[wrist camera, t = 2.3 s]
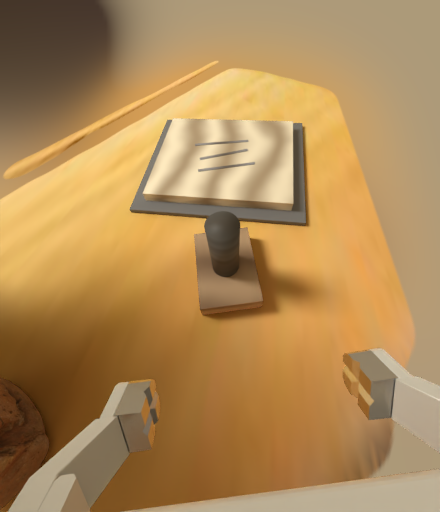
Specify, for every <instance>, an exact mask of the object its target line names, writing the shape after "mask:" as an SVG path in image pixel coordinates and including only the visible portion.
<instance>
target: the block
mask: <svg viewBox="0 0 440 512" xmlns="http://www.w3.org/2000/svg"><path fill="white" fill-rule="evenodd" d="M48 449H49V439H48V437H47V436H46V434H45V428H44V425H43V421H42V417H41V415H40V413H39V411H38V410H37V408H36V407H35V405H34V404H33V402H32V401H31V400H30V398H29V397H28V396H27V395H26V394H25V393H24V392H23V391H22V390H21V389H20V388H19V387H18V386H16V385H14V384H13V383H12V382H10V381H8V380H6V379H3V378H0V509H1V508H3V507H4V506H5V505H6V504H7V503H8V502H9V501H10V500H11V499H12V498H13V497H15V496H16V495H17V494H18V493H19V492H20V491H21V490H22V488H23V487H24V485H25V484H26V482H27V481H28V479H29V478H30V477H31V476H32V475H33V474H34V473H35V472H37V471H38V469H39V467H40V465H41V463H42V461H43V460H44V458H45V457H46V455H47V452H48Z"/></svg>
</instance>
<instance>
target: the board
mask: <svg viewBox="0 0 440 512" xmlns="http://www.w3.org/2000/svg"><path fill="white" fill-rule="evenodd" d="M143 195H144V197H145V199H146V200H147V201H161V202H175V203H189V204H203V205H217V206H231V207H245V208H259V209H273V210H286V211H291V210H292V206H293V121H253V120H213V119H173V120H172V122H171V125H170V127H169V130H168V132H167V135H166V137H165V139H164V142H163V144H162V147H161V149H160V152H159V154H158V157H157V159H156V162H155V164H154V167H153V169H152V171H151V174H150V176H149V179H148V181H147V184H146V186H145V189H144V191H143Z"/></svg>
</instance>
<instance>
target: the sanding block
mask: <svg viewBox="0 0 440 512" xmlns="http://www.w3.org/2000/svg"><path fill="white" fill-rule="evenodd" d="M204 227H205V232H206V233H202V234H194V238H195V251H196V264H197V277H198V290H199V303H200V310H201V312H202V314H203V315H206V314H213V313H221V312H228V311H236V310H243V309H250V308H258V307H261V306H262V303H263V297H262V293H261V288H260V284H259V279H258V274H257V270H256V265H255V260H254V256H253V251H252V247H251V242H250V237H249V233H248V228H247V227H246V228H240V222H239V219H238V218H237V217H236V216H235V215H234V214H233V213H230V212H227V211H219V212H215V213H213V214H211V215H210V216H209V217H208V218H207V219H206V221H205V225H204Z"/></svg>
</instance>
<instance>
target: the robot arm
mask: <svg viewBox="0 0 440 512" xmlns="http://www.w3.org/2000/svg"><path fill="white" fill-rule="evenodd" d="M343 362H344V363H345V365H346V366H345V368H344V369H343V379H344V383H345V385H346V387H347V389H348V391H349V392H350V394H351V395H353V396H354V397H356V398H358V405H359V407H360V408H361V410H362V411H363V413H364V414H365V415H366V417H367V418H368V420H375V419H384V418H392V420H394V421H395V422H396V423H398V424H399V425H401V426H402V427H403V428H405V429H406V430H408V431H409V432H411V433H412V434H413V435H415V436H416V437H418V438H419V439H420V440H422V441H423V442H425V443H426V444H427V445H429V446H430V447H432V448H433V449H434V450H436V451H437V452H439V453H440V386H439V385H436V384H434V383H432V382H430V381H427V380H425V379H423V378H420V377H418V376H414V377H413V376H412V375H411V374H410V373H409V372H408V371H407V370H405V369H404V368H403V367H402V366H401V365H400V364H399V363H398V362H397V361H396V360H394V359H393V358H392V357H391V356H390V355H389V354H388V353H387V352H386V351H385V350H383V349H381V348H376V349H369V350H364V351H357V352H350V353H344V355H343ZM155 390H156V383H155V380H154V379H147V380H137V381H130V382H121V383H118V384H117V385H116V386H115V388H114V390H113V392H112V394H111V396H110V398H109V400H108V402H107V404H106V406H105V408H104V410H103V412H102V414H101V416H100V418H99V419H95V420H94V421H93V422H92V423H91V424H89V425H88V426H87V427H86V428H85V429H84V430H83V431H82V432H80V433H79V434H78V435H77V436H76V437H75V438H74V439H73V440H71V441H70V442H69V443H68V444H67V445H66V446H65V447H64V448H62V449H61V450H60V451H59V452H58V453H57V454H56V455H55V456H53V457H52V458H51V459H50V460H49V461H48V462H47V463H46V464H44V465H43V466H42V467H41V468H40V469H39V470H38V471H37V472H35V473H34V474H33V475H32V476H31V477H30V478H29V479H28V481H27V482H26V484H25V485H24V487H23V488H22V490H21V492H20V493H19V495H18V496H17V498H16V499H15V501H14V503H13V504H12V506H11V507H10V509H9V510H8V512H91V511H90V508H91V507H92V505H93V504H94V502H95V501H96V500H97V498H98V497H99V496H100V494H101V493H102V491H103V490H104V489H105V487H106V486H107V485H108V483H109V482H110V480H111V479H112V478H113V476H114V475H115V474H116V472H117V471H118V469H119V468H120V467H121V465H122V464H123V462H124V461H125V460H126V458H127V457H128V456H129V453H132V452H138V451H144V450H150V449H152V445H153V441H154V437H155V432H156V430H155V427H154V425H155V424H156V422H157V421H158V419H159V415H160V398H159V394H157V393H156V392H155ZM122 512H440V469H434V470H426V471H419V472H411V473H404V474H396V475H389V476H382V477H374V478H367V479H360V480H352V481H345V482H338V483H330V484H323V485H316V486H308V487H301V488H294V489H286V490H278V491H271V492H263V493H256V494H248V495H241V496H233V497H226V498H218V499H211V500H203V501H196V502H189V503H181V504H174V505H166V506H159V507H151V508H144V509H136V510H129V511H122Z"/></svg>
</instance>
